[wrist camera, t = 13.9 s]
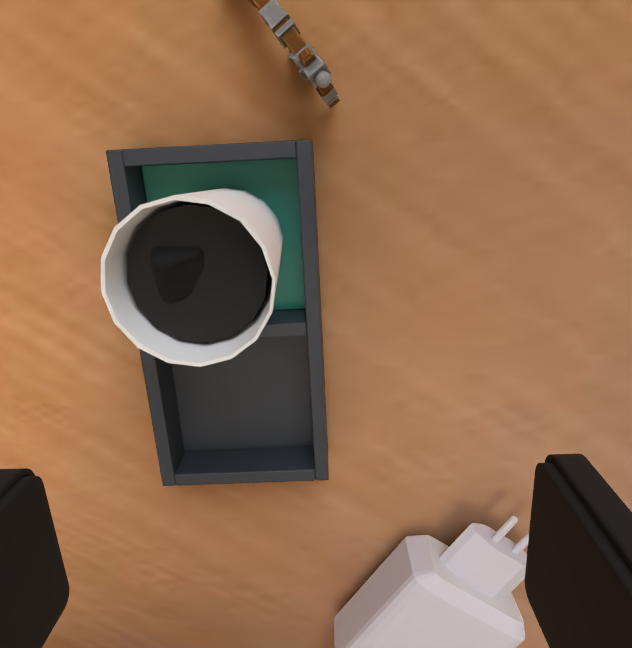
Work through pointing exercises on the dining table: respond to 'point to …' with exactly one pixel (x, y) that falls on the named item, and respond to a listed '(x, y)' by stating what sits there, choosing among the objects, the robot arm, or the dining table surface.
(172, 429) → the grey divided tray
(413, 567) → the charger
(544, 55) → the dining table surface
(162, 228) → the coffee cup
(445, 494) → the dining table surface
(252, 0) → the wooden post with brackets
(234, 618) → the dining table surface
